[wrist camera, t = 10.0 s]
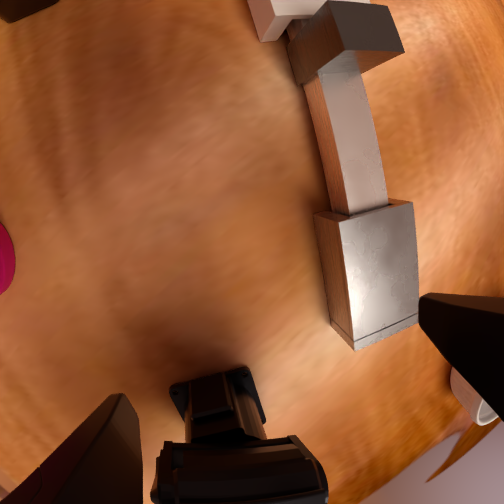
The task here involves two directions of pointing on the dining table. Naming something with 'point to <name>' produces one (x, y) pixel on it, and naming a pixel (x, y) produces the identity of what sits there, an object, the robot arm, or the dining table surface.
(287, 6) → the grey rectangular block
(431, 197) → the dining table surface
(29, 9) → the wine bottle
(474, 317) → the robot arm
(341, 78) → the grey l-shaped block
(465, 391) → the ramekin
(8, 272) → the pepper mill
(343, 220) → the sleeve
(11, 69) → the dining table surface
